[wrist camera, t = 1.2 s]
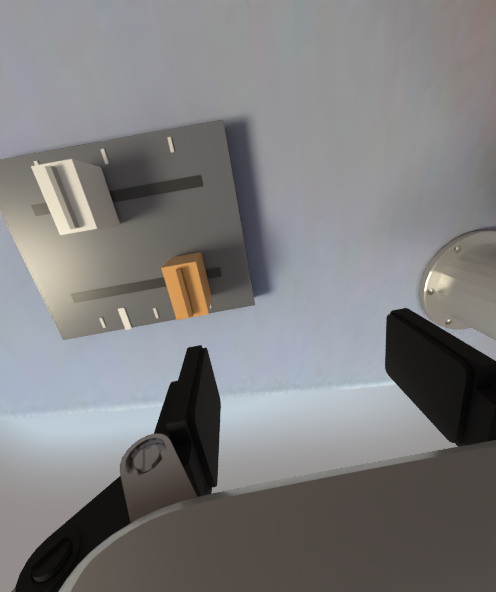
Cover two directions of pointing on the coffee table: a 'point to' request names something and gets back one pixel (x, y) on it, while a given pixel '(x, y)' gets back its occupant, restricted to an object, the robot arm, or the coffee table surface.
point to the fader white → (76, 195)
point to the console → (133, 229)
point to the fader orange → (187, 285)
